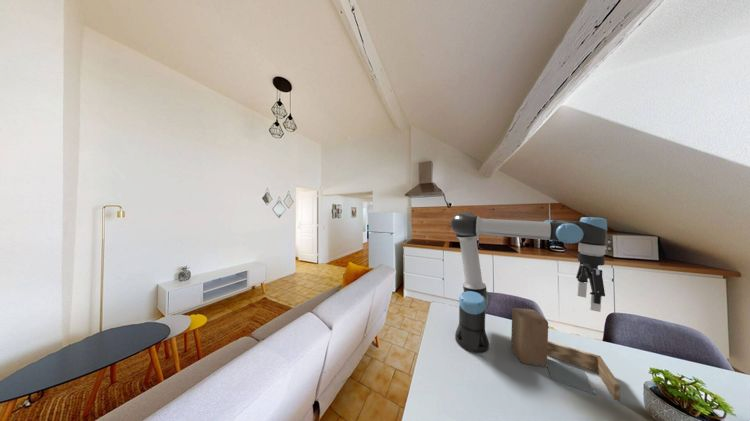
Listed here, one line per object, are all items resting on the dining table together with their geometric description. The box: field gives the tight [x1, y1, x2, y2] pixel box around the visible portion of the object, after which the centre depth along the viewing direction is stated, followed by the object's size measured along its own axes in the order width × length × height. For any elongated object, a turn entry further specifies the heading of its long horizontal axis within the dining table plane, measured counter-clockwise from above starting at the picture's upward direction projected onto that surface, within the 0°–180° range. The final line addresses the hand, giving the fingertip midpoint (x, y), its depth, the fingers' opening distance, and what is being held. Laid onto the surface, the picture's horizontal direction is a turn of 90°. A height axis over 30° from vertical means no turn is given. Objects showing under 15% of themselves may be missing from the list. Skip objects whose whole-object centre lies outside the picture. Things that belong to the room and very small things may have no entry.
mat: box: [546, 358, 596, 396], centre depth 78 cm, size 12×12×1 cm
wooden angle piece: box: [547, 340, 621, 402], centre depth 78 cm, size 17×15×6 cm
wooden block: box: [510, 307, 549, 367], centre depth 87 cm, size 10×10×20 cm
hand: (587, 303), depth 82 cm, fingers open, 13 cm apart
